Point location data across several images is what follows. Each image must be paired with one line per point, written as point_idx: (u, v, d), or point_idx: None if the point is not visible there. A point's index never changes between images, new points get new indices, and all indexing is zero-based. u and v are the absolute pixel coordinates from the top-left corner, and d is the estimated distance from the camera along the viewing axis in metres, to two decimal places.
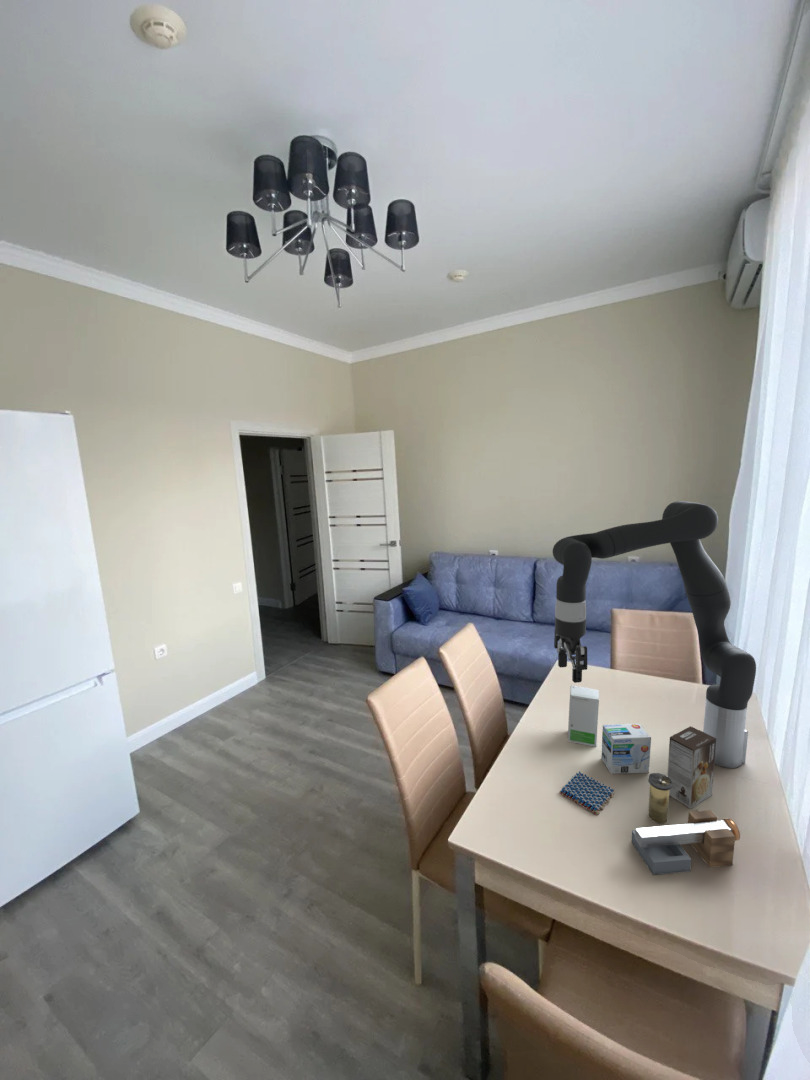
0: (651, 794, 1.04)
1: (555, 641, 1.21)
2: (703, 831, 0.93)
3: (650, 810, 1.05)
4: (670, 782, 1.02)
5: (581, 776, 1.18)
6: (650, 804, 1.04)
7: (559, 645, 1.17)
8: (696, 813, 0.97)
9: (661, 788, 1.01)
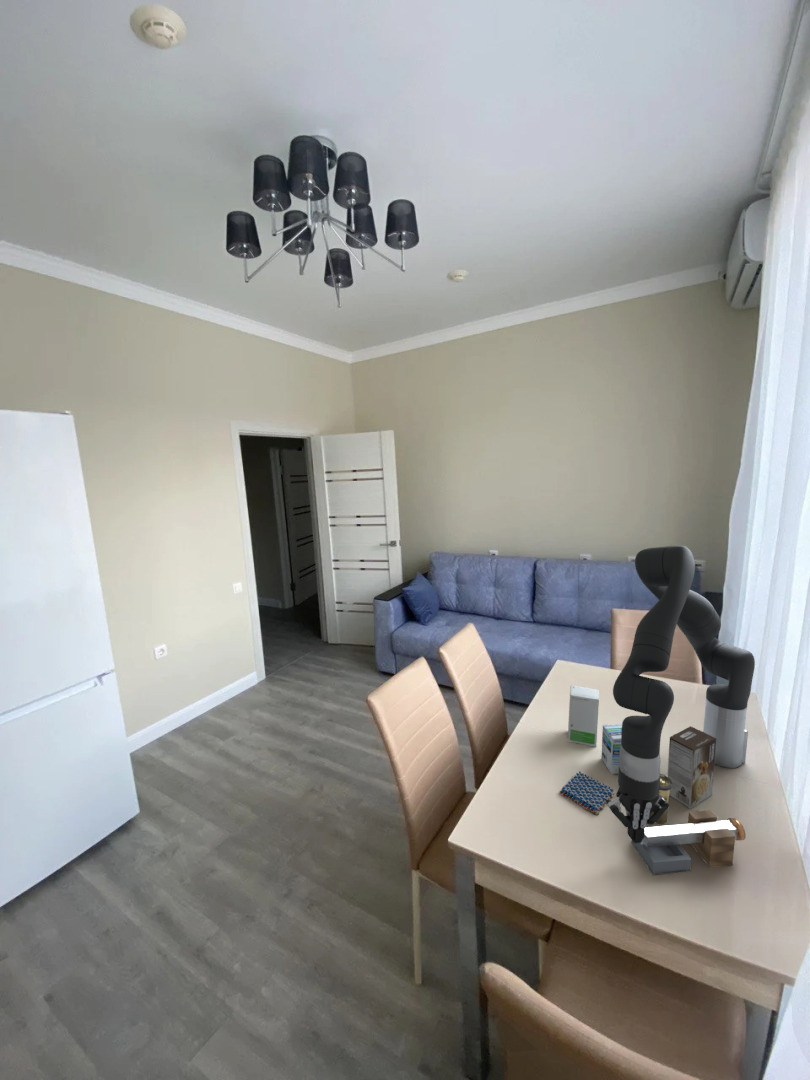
0: None
1: (623, 819, 0.92)
2: None
3: None
4: (670, 782, 1.02)
5: (581, 776, 1.18)
6: None
7: (637, 814, 0.91)
8: (696, 813, 0.97)
9: (661, 788, 1.01)
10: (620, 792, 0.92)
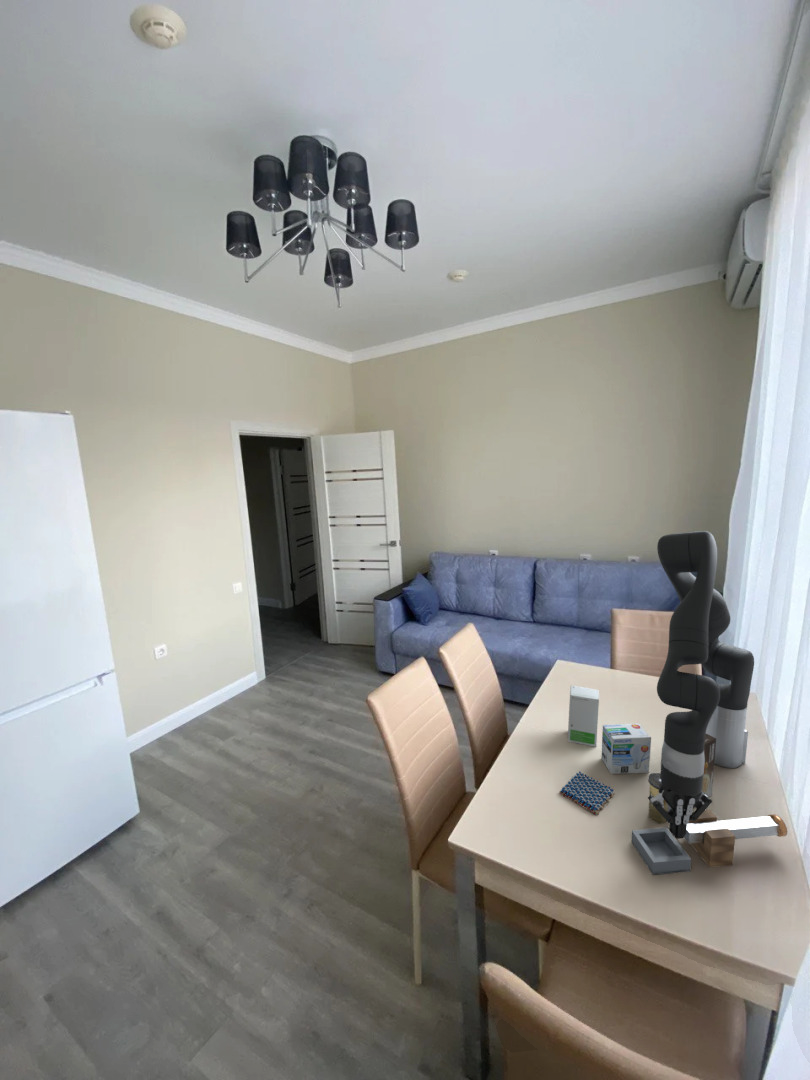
0: (651, 794, 1.04)
1: (666, 815, 0.92)
2: (750, 827, 0.94)
3: (650, 810, 1.05)
4: None
5: (581, 776, 1.18)
6: (650, 804, 1.04)
7: (680, 810, 0.91)
8: None
9: None
10: (663, 788, 0.92)
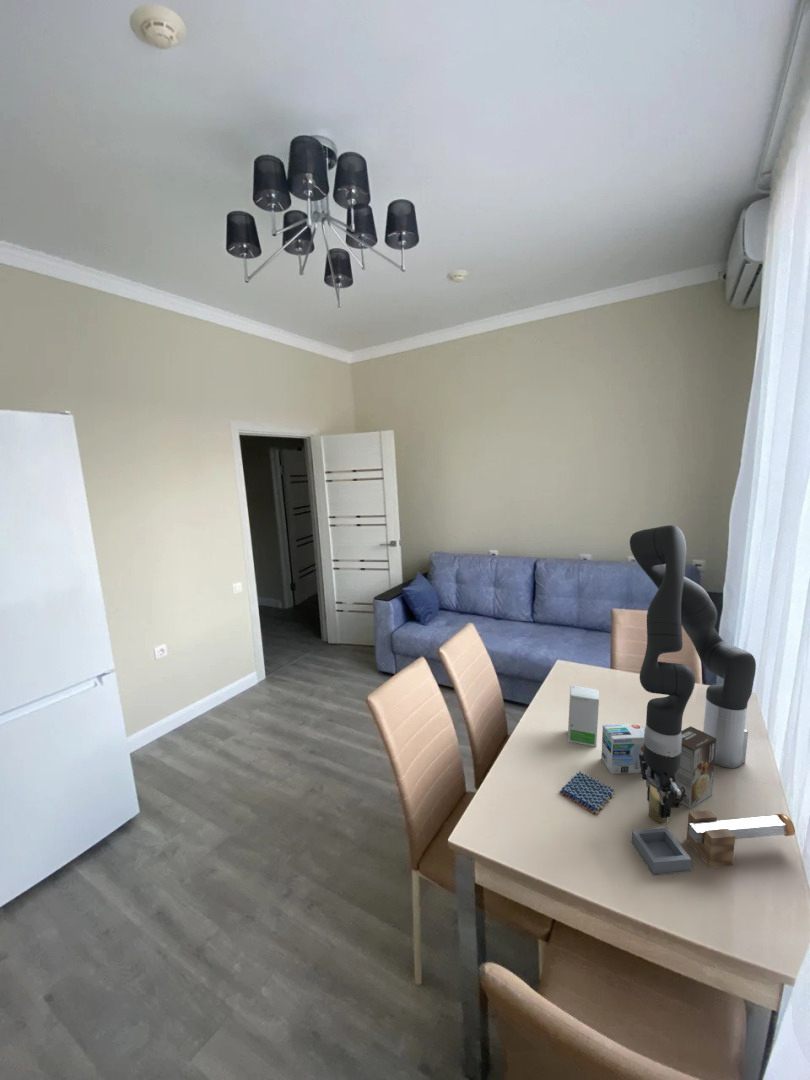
0: (651, 794, 1.04)
1: None
2: (758, 826, 0.94)
3: (650, 810, 1.05)
4: None
5: (581, 776, 1.18)
6: (650, 804, 1.04)
7: None
8: (696, 813, 0.97)
9: None
10: (671, 776, 0.99)
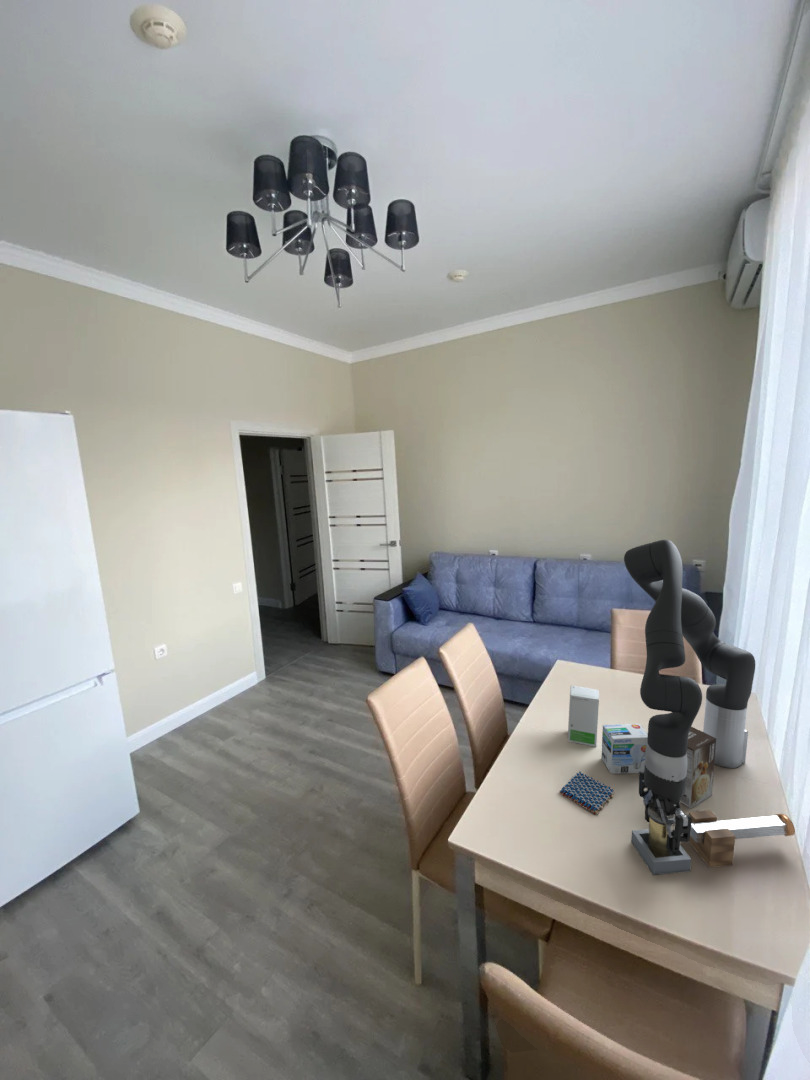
0: (651, 828, 0.94)
1: None
2: (758, 826, 0.94)
3: (650, 845, 0.95)
4: (671, 815, 0.92)
5: (581, 776, 1.18)
6: (650, 839, 0.94)
7: None
8: (696, 813, 0.97)
9: (662, 822, 0.91)
10: (675, 803, 0.88)
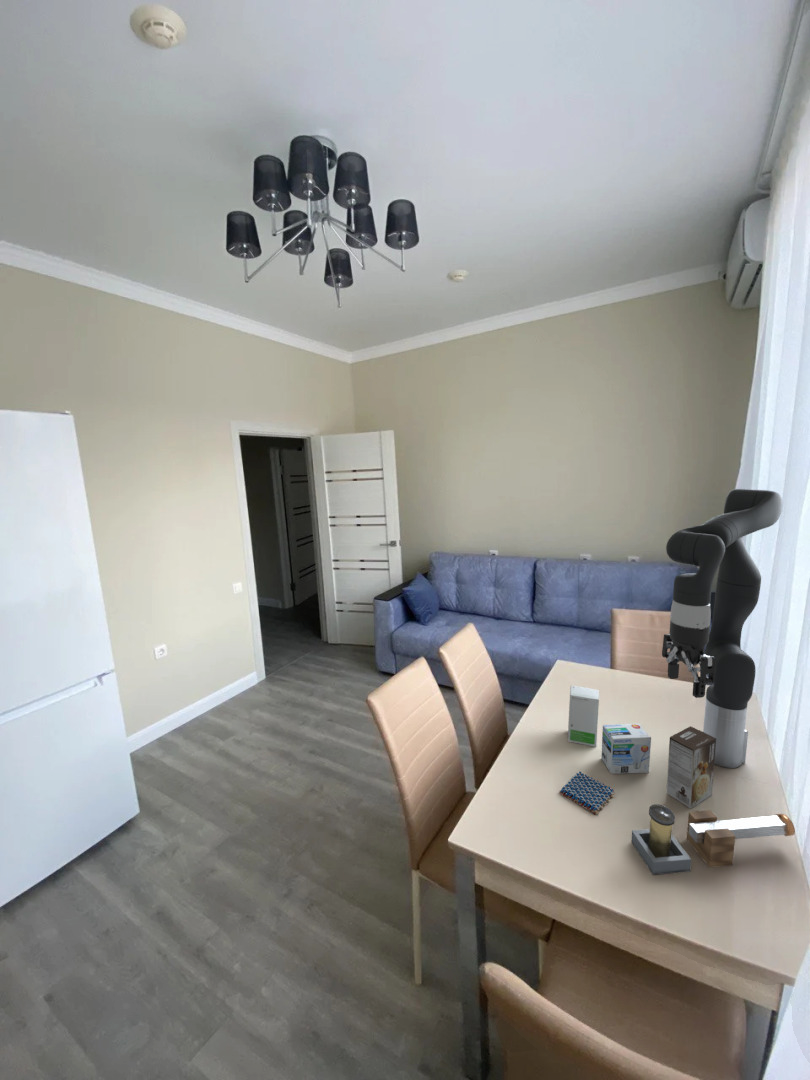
0: (652, 828, 0.94)
1: None
2: (758, 826, 0.94)
3: (650, 845, 0.95)
4: (673, 816, 0.92)
5: (581, 776, 1.18)
6: (650, 839, 0.94)
7: None
8: (696, 813, 0.97)
9: (663, 823, 0.91)
10: (700, 650, 0.96)
